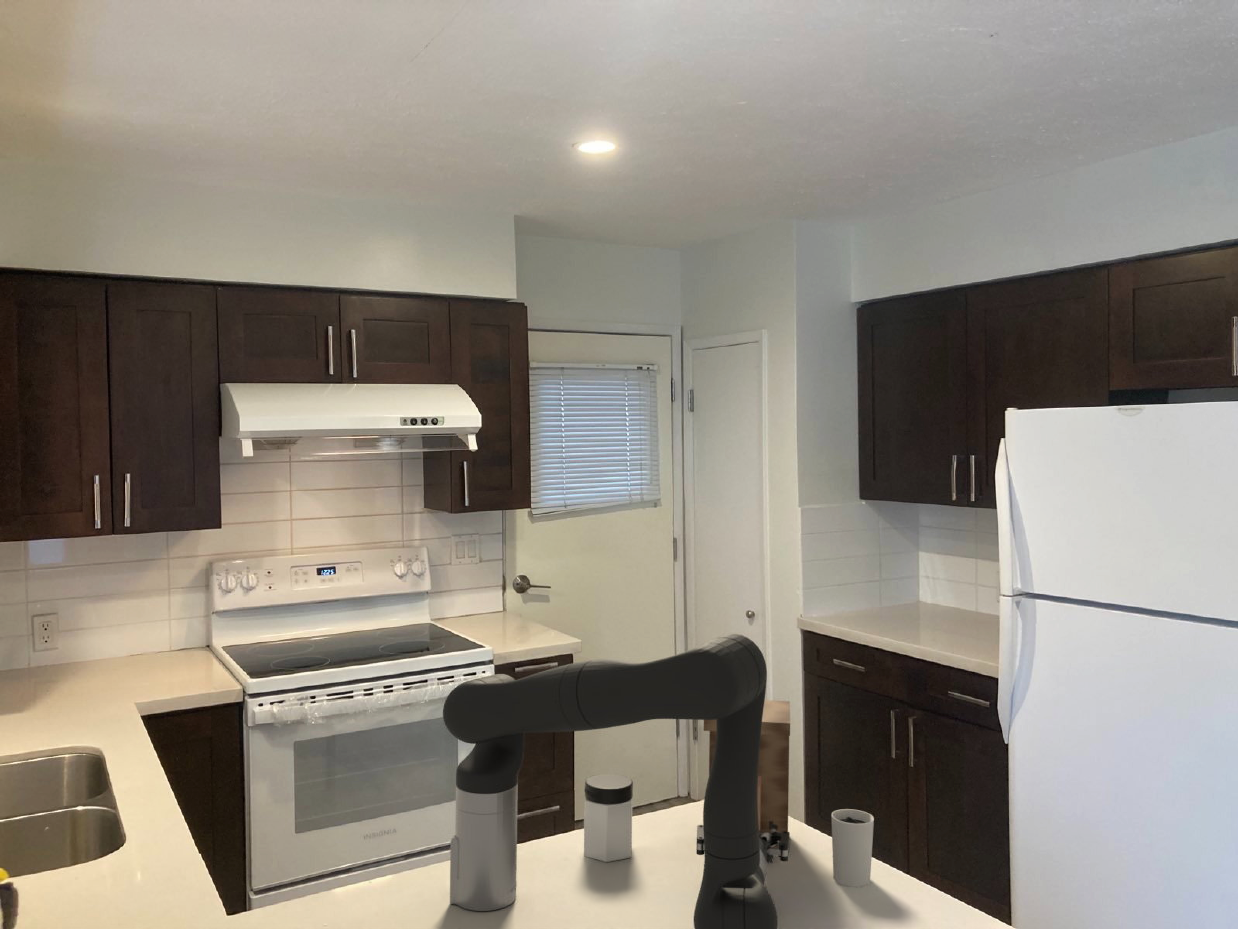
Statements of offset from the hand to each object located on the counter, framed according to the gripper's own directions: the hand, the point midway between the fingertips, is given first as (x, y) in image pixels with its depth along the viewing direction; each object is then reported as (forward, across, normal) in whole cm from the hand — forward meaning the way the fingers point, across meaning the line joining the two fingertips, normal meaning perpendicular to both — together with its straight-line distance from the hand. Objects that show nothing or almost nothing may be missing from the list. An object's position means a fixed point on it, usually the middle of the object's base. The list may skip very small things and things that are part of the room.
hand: (744, 825), depth 158 cm
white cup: (+2, -17, +8) cm, 19 cm away
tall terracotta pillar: (+10, 0, +8) cm, 13 cm away
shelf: (+10, 0, +8) cm, 13 cm away
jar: (+5, +23, +8) cm, 25 cm away
